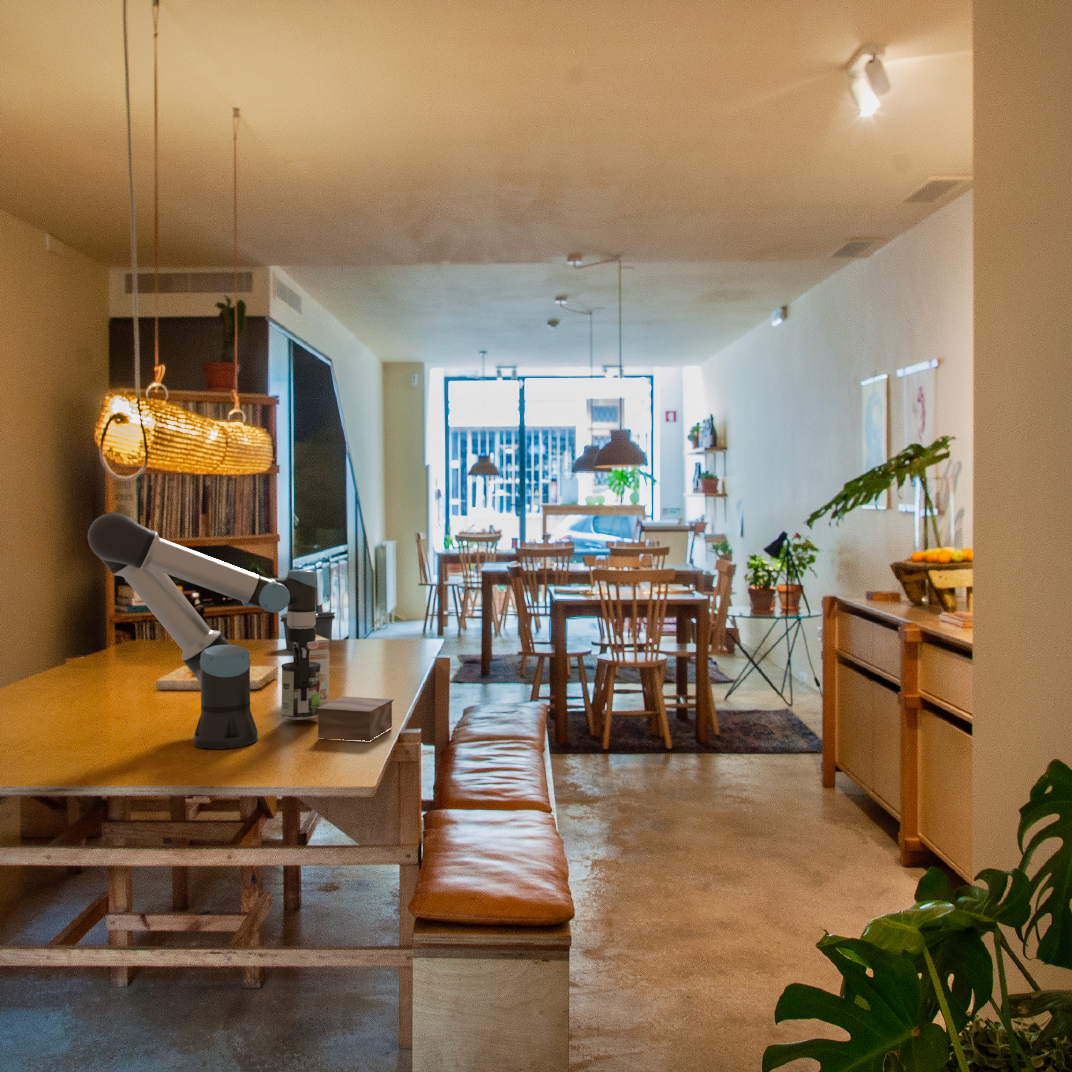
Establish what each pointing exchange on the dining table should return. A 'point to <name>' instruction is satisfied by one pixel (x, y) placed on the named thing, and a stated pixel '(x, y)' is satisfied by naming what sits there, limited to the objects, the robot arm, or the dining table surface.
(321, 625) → the storage bin
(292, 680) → the coffee can
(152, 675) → the dining table surface
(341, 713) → the walnut box
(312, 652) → the coffeecake box
